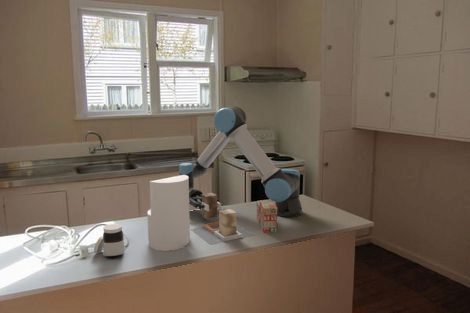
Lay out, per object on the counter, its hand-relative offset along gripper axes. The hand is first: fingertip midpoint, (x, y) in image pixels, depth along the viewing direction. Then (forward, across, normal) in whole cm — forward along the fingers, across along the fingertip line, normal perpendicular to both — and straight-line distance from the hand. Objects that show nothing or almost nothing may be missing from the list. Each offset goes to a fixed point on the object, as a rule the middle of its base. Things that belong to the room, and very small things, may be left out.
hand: (214, 207), depth 187 cm
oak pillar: (+16, +2, -8) cm, 19 cm away
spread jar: (+9, +51, -9) cm, 52 cm away
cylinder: (+9, +26, -9) cm, 29 cm away
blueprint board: (+11, +2, -9) cm, 15 cm away
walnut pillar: (-5, 0, -6) cm, 8 cm away
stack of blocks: (+12, -21, -10) cm, 26 cm away
